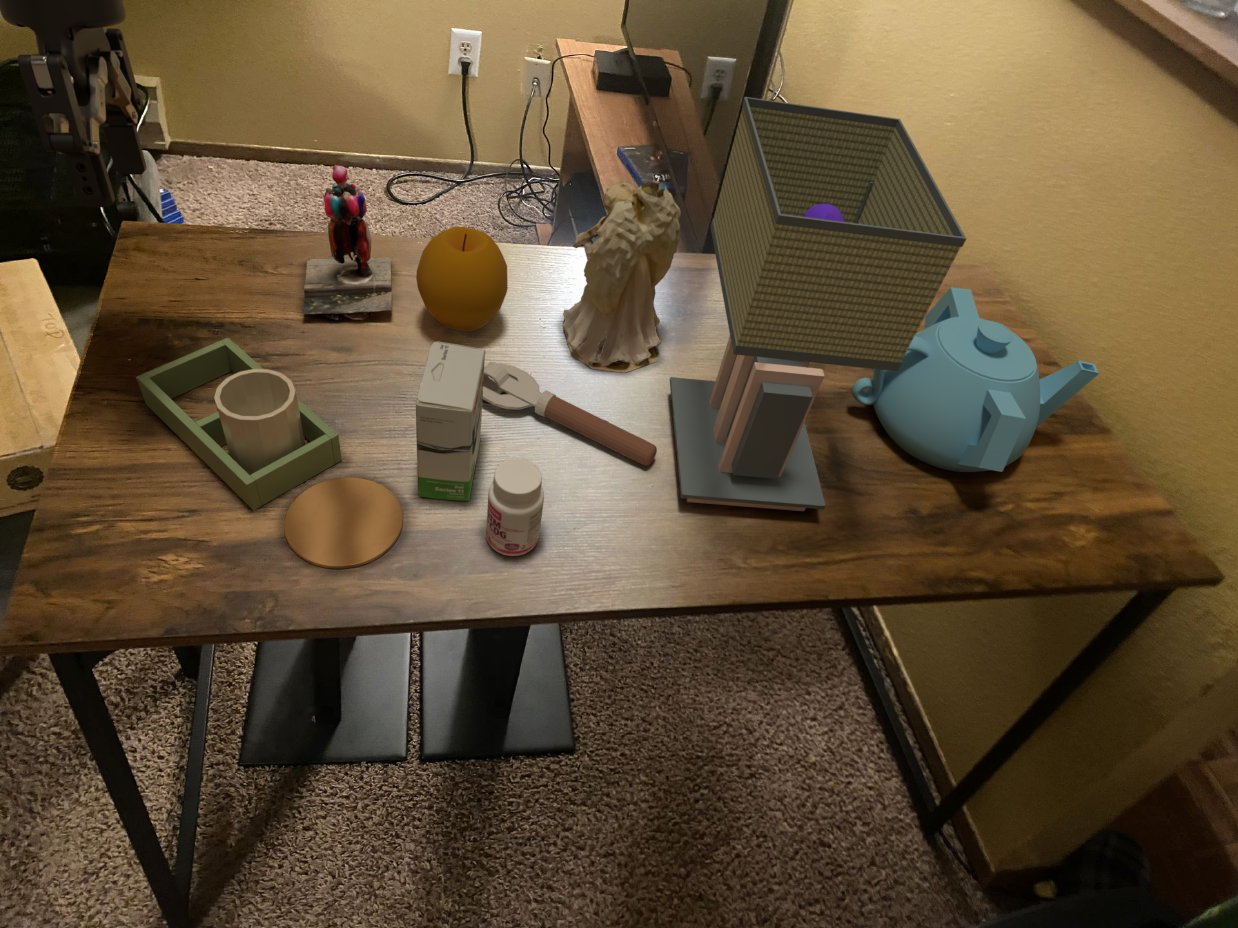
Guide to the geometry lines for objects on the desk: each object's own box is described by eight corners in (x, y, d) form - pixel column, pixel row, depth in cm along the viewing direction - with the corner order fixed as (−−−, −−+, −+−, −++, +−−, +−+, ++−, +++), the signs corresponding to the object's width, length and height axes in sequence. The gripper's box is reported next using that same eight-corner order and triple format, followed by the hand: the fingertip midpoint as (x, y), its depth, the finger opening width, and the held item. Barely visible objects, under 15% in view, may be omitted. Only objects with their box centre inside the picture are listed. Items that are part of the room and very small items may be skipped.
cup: (241, 490, 74) (223, 427, 69) (225, 442, 78) (207, 378, 72) (314, 471, 77) (303, 409, 71) (295, 425, 81) (284, 362, 75)
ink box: (470, 503, 77) (473, 411, 69) (416, 497, 77) (412, 404, 68) (482, 437, 83) (486, 344, 75) (432, 430, 83) (431, 337, 74)
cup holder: (342, 460, 78) (338, 434, 76) (253, 510, 73) (246, 484, 71) (234, 364, 85) (228, 337, 82) (145, 404, 80) (135, 376, 77)
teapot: (961, 511, 86) (1028, 415, 76) (822, 402, 95) (866, 303, 85) (1049, 441, 96) (1119, 348, 86) (916, 348, 105) (966, 254, 95)
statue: (309, 274, 99) (290, 146, 89) (391, 273, 101) (382, 149, 91) (303, 322, 91) (281, 189, 81) (392, 321, 93) (381, 190, 83)
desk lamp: (818, 528, 82) (970, 239, 58) (677, 517, 80) (774, 214, 56) (788, 400, 94) (903, 119, 70) (665, 389, 92) (741, 96, 69)
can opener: (666, 438, 87) (672, 417, 85) (646, 475, 83) (651, 455, 81) (490, 369, 90) (491, 347, 88) (463, 402, 86) (463, 380, 84)
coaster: (302, 584, 69) (301, 581, 69) (271, 498, 74) (271, 495, 74) (419, 547, 73) (419, 544, 73) (382, 468, 79) (382, 465, 78)
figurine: (567, 300, 101) (588, 142, 86) (662, 318, 101) (698, 164, 87) (551, 363, 92) (571, 200, 78) (655, 382, 93) (693, 224, 78)
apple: (431, 357, 90) (429, 265, 82) (407, 303, 96) (403, 212, 87) (516, 343, 94) (523, 254, 85) (488, 292, 99) (492, 204, 91)
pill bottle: (475, 544, 74) (478, 482, 68) (501, 508, 77) (505, 446, 71) (523, 565, 73) (530, 505, 67) (547, 528, 77) (556, 467, 71)
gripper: (24, -64, 61) (93, 165, 70) (-71, -52, 49) (27, 219, 58) (136, -59, 62) (189, 164, 71) (69, -47, 51) (143, 217, 60)
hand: (116, 189), depth 65 cm, fingers open, 8 cm apart
